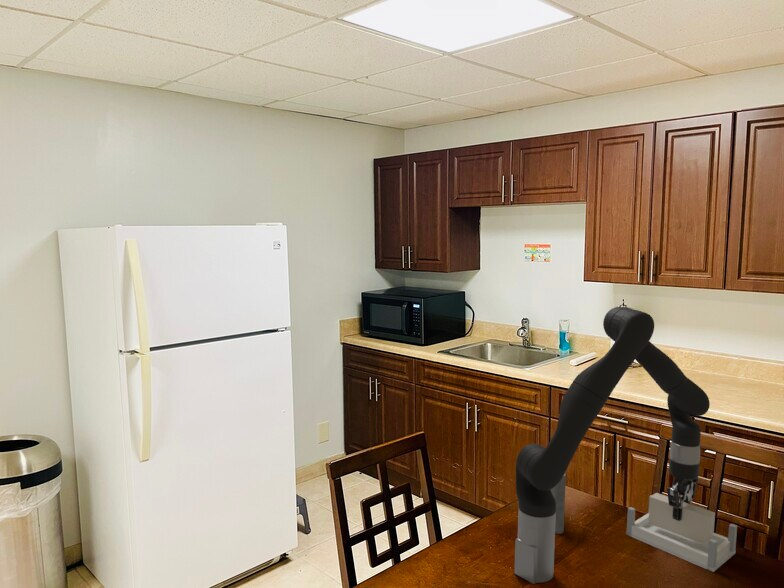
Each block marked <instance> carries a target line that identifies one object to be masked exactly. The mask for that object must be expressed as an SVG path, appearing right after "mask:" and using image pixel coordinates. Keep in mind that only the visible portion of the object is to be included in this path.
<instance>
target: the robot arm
mask: <svg viewBox="0 0 784 588" xmlns="http://www.w3.org/2000/svg"><path fill="white" fill-rule="evenodd" d="M602 322H603V324H602V325H603V330H604V332H605V334H606V335H607V337H609V339H611V340H612V341H613V342H614V343H613V344H612V346H611V347H610V349H609V350H608V351H607V352H606V353H605V355H604V356H602V357H601V358H600V359H599V360H597V361H595V362H594V363H592V364H591V365H589V366H588V367H587V368H585V369H584V370H582V371H581V372H580V373H578V375H577V376H576V377H575V378H574V379H573V380H572V382H571V384H570V385H569V387H568V389H567V390H566V392H565V393H564V396H563V397H562V400H561V403H560V408H559V413H558V420H557V425H556V428H555V431H554V434H553V435H552V437H551V439H550V441H549V442H548V443H547V445H546V447H544V446H542V445H540V444H537V443H529V444H527V445H524V446H523V447H522V448H521V449H520V451H519V452H518V455H517V458H516V461H515V492H516V493H515V495H516V498H517V501H518V512H517V513H518V515H517V516H518V517H517V537H516V538H515V541H514V543H515V544H514V545H515V546H514V574H515V575H517V576H518V577H519V578H522V579H523V580H526V581H527V582H529V583H531V584H532V585H535V584H538V583H539V584H540V583H542V584H543V583H547V582H550V580H552V579H553V578H554V568H555V567H554V566H555V544H556V541H555V540H556V533H555V521H556V501H555V498H554V496H553V494H552V492H551V490H550V489H552V488H554V487H555V486H556V485H557V484H558V483H559V482H560V481H561V479H562V477H563V476H564V474H566V471H567V470H568V468H569V466H570V464H571V461H572V459H573V457H574V455H575V453H576V451H577V449H578V448H579V446H580V444H581V443H582V441H583V439H584V437H585V436H586V434H587V432H588V431H589V429H590V428H591V426H592V424H593V422H594V421H595V420H596V418H597V417H598V416H599V414H600V413H601V411H602V410H603V407H604V406H605V404H606V403H607V401H608V399H609V398H610V396H611V394H612V392H613V391H614V389H616V386H617V385H618V384H619V382H620V381H621V379H622V377H623V376H624V374H625V373H626V372H627V371H628V369H629V367H630V366H631V365H632V364H633V362H634V361H636V362H637V363H638V364H639V365H640V366H641V367H642V368H643V369H644V370H645V371H646V373H647V374H648V375H649V376H650V377H651V379H653V381H654V382H655V383H656V384H657V386H658V387H659V388H660V389H661V390H662V391H663V392H664V393H666V394H667V398H666V399H667V400H666V401H667V408H668V412H669V413H668V414H669V418H670V421H671V427H672V428H671V441H670V442H671V443H670V446H669V457H668V458H669V459H668V460H669V461H668V471H669V474H670V475H672V477H673V481H672V483H671V484H672V486H671V487H670V486H668V487H667V489H666V492H667V496H668V502H669V505H670V506H673V519H675V520H678V521H680V520H682V506H683V502H685V503H688V504H691V503H692V501H693V499H696V498H695V497H696V492H697V487H698V482H699V476H700V464H701V463H700V462H701V431H702V430H701V426H700V424H699V423H697V421H695V420H694V419H693V418H692V417H691V416H694V417H701V416H704V415H705V414H706V413H707V412H708V411H709V409H710V404H711V403H710V398H709V397H708V395H707V393H706V391H704V390H703V389H702V388H701V387H700V386H699V385H698V384H696V383H695V382H694V381H693V380H691V379H690V378H689V377H687V376H686V375H685V374H684V372H683V371H682V370H681V368H680V367H679V366H678V365H677V364H676V362H675V361H674V360H673V359H672V358H671V357H670V356H669V355H667V354H666V353H665V352H663V350H661V349H659V348H658V347H657V346H656V345H654V343H652V342H651V341H650V340H651V339H652V337H653V334H654V330H655V321H654V318H653V317H652V316H651V315H650V314H648V312H645V311H641V310H639V309H638V310H637V309H633V308H630V307H627V306H616V307H613V308H611V309H609V310H608V311H607V312H606V314H605V316H604V317H603V321H602ZM679 501H680V503H679Z"/></svg>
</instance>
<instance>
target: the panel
mask: <svg viewBox="0 0 784 588" xmlns="http://www.w3.org/2000/svg"><path fill="white" fill-rule="evenodd" d="M651 495H652V496H651V497H650V506H649V505H648V512H649V524H652V525H654V526H657V527H660V528H662V529H665V530H668V531H670V532H673V533H676V534H678V535H681V536H683V537H686V538H689V539H691V540H694V541H697V542H699V543H702V544H705V545H707V546H708V545H709V540H710V539H713V535H714V533H715V532H714V531H715V518H716V512H714V511H711V510H709V509H706V508H703V507H701V506H697V505H694V504H691V503H690V504H688V503H685V502H683V506H682V520H680V521H678V520H675V519H673V506H670V505H669V502H668V495H664V494H662V493H658V492H655V493H654V494H651ZM679 503H680V500H679Z"/></svg>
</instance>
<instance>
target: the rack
mask: <svg viewBox="0 0 784 588" xmlns="http://www.w3.org/2000/svg"><path fill="white" fill-rule="evenodd" d="M652 495H653V494H651V495H649V496H648V507H649V506H650V497H651V496H652ZM626 516H627V520H626V531H625V534H626V536H628V537H631V538H633V539H635V540H638V541H640V542H641V543H644V544H647V545H649V546H652V547H653V548H656V549H659V550H661V551H663V552H666V553H668V554H670V555H673V556H675V557H677V558H680V559H681V560H684V561H686V562H689V563H691V564H694V565H696V566H698V567H701V568H703V569H705V570H708V571H710V572H711V573H714V572H716V570H718V569H719V568H721V567H722V565H724V564H725V563H726V562H727V561H728V560H729V559H731V558H732V557H733V556H734V555H735V554H736V551H737V550H736V549H737V548H736V546H737V533H738V532H737V531H738V525H736V524H734V523H730V524H729V525H728V536H724V535H722V534H718V533H716V532H714V535H713V539H710V540H709V545H708V546H707V545H705V544H702V543H699V542H697V541H694V540H691V539H689V538H686V537H683V536H681V535H678V534H676V533H673V532H670V531H668V530H665V529H662V528H660V527H657V526H654V525H652V524H649V511H648V512H647V513H646V514H644V515H642V517H639V518H638V519H637V520H636V508H634V507H631V506H630V507H628V508H627V515H626Z"/></svg>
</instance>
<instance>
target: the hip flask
mask: <svg viewBox="0 0 784 588" xmlns="http://www.w3.org/2000/svg"><path fill="white" fill-rule="evenodd" d="M566 479H567V477H566V473H565V474H564V476H563V477H562V479H561V481H560V482H559V483H558V484H557V485H556V486H555V487H554V488H552V489H550V490H551V492H552V494H553V496H554V498H555V501H556V521H555V534H557V535H559V534H560V535H561V534H564V532H565V531H564V530H565V529H564V528H565V527H564V526H565V510H566V509H565V505H566V504H565V503H566V502H565V501H566V485H567V484H566Z"/></svg>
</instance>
